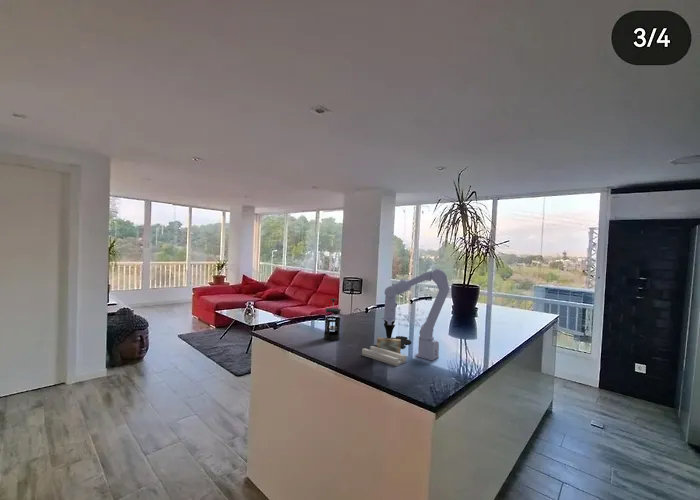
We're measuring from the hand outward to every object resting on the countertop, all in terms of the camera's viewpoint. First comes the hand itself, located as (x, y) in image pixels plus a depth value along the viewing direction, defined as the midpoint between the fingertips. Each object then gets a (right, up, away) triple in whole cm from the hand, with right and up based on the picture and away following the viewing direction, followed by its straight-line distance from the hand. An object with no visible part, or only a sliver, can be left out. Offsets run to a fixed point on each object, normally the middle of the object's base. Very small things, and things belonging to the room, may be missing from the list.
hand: (388, 335), depth 168 cm
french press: (-30, -7, +19) cm, 36 cm away
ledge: (-4, -8, -12) cm, 14 cm away
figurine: (+5, -9, +15) cm, 18 cm away
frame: (0, -8, 0) cm, 8 cm away
